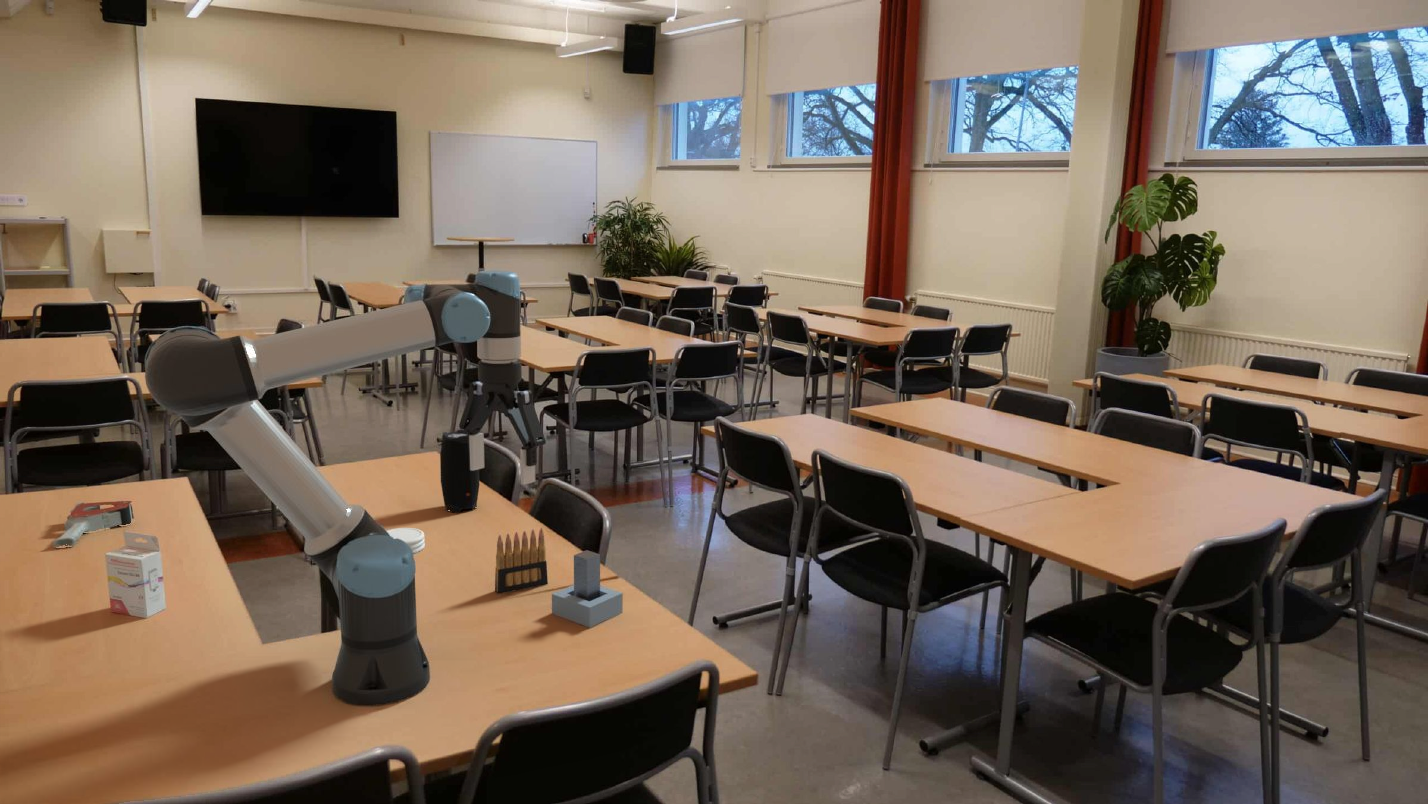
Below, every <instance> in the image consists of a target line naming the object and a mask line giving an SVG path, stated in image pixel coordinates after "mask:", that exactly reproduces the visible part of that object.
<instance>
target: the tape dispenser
mask: <svg viewBox="0 0 1428 804" xmlns="http://www.w3.org/2000/svg"><path fill="white" fill-rule="evenodd" d="M131 503H132V500H119V501H118V500H117V501H101V502H100V501H99V502H86V503H85V502H83V501H82V502H78V503H75V504H74V508H73V509H71V510H70V511H69V512H70V514H69V515H68V516H67V517H66V518H67V519H66V521H65V522H64V524H63V526H64V531H65V532H64V533H62V534H61V536H59V537H58V538H55V539H54V540H53V541H52V546H53V548H55V547H59V546H63V545H65V546H68V545H69V546H73V547H75V546H76V543H77V541H79V539H80V538H81V536H82V535H84V534H83V533H84V532H89V531H96V530H99V529H105V528H110V529H111V528H112V527H118V526H117V525H126V524H130V523H131V521H132V519H135V515H134V513H133V511H134V510H133V505H132V504H131ZM107 505H111V506H112V507H110V506H109V507H105V508H101V506H107ZM130 525H131V524H130ZM66 544H67V545H66ZM74 545H75V546H74Z"/></svg>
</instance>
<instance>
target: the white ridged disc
mask: <svg viewBox="0 0 1428 804" xmlns="http://www.w3.org/2000/svg"><path fill="white" fill-rule="evenodd" d="M386 531H387V532H388V533H389V535H390V536H391V537H393V538H394V539H396V538H398V539H401V540H403V541H404V542H406V543H407V544H408V545H409V546H410V547H411V549H412V552H413V555H414V553H415V554H417V552H418V553H420V552H421V550H422V549H423V548H424V549H425V547H426V545H425V541H426V539H425V533H424V532H423V531H422V530H420V529H419V528H414V527H398V528H391V529H388V530H386ZM424 549H423V550H424ZM423 550H422V551H423ZM419 551H420V552H419Z"/></svg>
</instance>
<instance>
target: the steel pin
mask: <svg viewBox="0 0 1428 804" xmlns="http://www.w3.org/2000/svg"><path fill="white" fill-rule="evenodd" d="M573 585H574V596H575V597H578V598H581V599H584V600H587V601H592V600H594V599H596V598H599V597H600V585H601V554H600V553H597V552H595V551H590V550H587V549H586V550H584V551H581V552H579V553H576V554H573Z"/></svg>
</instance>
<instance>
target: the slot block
mask: <svg viewBox="0 0 1428 804" xmlns="http://www.w3.org/2000/svg"><path fill="white" fill-rule="evenodd" d="M623 595H624V594H623V592H621V591H618V590H615V589H612V588H608V587H606V586H603V585H601V584H600V597H599V598H596V599H594V600H592V601H587V600H584V599H581V598H578V597H575V596H574V584H572V585H569V586H566V588H562V589H560V590H558V591H556V592H553V593H551V614H552V615H554V616H557V617H561V618H563V619H566V620H569V621H570V622H574V623H576V624H579V625H582V626H584V627H586V628H589V629H590V628H592V627H594V626H597V625H599V624H601V623H603V622H606V621H607V620H610V619H612V618H614V617H616V616H618V615H620V614H622V613H624V611H623V605H624V603H623Z"/></svg>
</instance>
